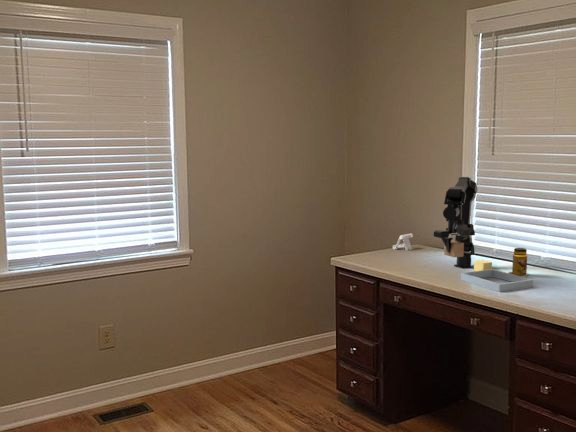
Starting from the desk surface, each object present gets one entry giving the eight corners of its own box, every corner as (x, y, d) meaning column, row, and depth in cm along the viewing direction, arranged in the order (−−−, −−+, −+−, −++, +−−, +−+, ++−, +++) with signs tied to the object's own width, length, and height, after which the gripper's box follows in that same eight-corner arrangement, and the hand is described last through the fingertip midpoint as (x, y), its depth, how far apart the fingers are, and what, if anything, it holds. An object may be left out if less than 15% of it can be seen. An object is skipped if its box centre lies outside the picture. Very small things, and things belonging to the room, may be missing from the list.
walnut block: (444, 254, 291) (444, 241, 290) (453, 253, 293) (453, 240, 293) (454, 257, 285) (454, 243, 284) (463, 256, 287) (463, 242, 286)
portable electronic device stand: (403, 247, 359) (403, 232, 358) (414, 249, 353) (414, 234, 352) (392, 249, 354) (392, 234, 353) (403, 251, 348) (404, 235, 347)
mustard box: (473, 271, 299) (474, 260, 299) (482, 270, 302) (482, 259, 301) (483, 274, 294) (483, 263, 293) (491, 273, 296) (492, 262, 296)
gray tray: (460, 279, 283) (461, 273, 283) (492, 275, 291) (493, 269, 290) (499, 291, 262) (499, 284, 262) (532, 287, 270) (532, 279, 270)
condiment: (525, 277, 287) (526, 250, 285) (505, 275, 291) (506, 249, 290) (528, 274, 293) (529, 247, 292) (509, 272, 297) (510, 246, 296)
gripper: (449, 220, 276) (448, 257, 278) (484, 217, 284) (482, 253, 286) (433, 217, 286) (432, 252, 288) (466, 214, 294) (465, 249, 296)
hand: (453, 252), depth 289 cm, fingers closed on walnut block, 5 cm apart
